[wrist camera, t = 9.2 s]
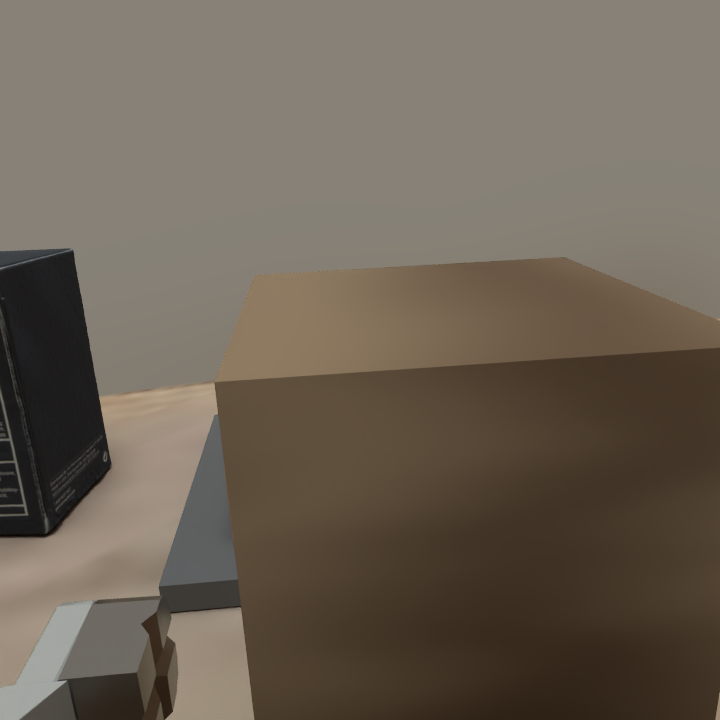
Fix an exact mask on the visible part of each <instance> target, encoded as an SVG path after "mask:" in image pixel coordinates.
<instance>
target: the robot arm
mask: <svg viewBox="0 0 720 720" xmlns="http://www.w3.org/2000/svg"><path fill="white" fill-rule="evenodd" d="M170 622H171V614H170V609H169V603H168V600H167V599H166V597H165V596H150V597H135V598H120V599H104V600H97V601H94V600H92V601H80V602H68V603H63V604H61V605H60V606H58V607H57V608H56V609H55V611H54V613H53V615H52V616H51V618H50V620H49V622H48V624H47V626H46V628H45V629H44V631H43V633H42V635H41V637H40V639H39V640H38V642H37V644H36V646H35V648H34V650H33V652H32V653H31V655H30V657H29V659H28V661H27V663H26V665H25V666H24V668H23V670H22V672H21V674H20V676H19V677H18V679H17V681H16V683H15V685H13V686H4V687H2V688H1V689H0V720H165V719H166V718H167V717H168V716H169V715H170V714H171V713H172V712H173V708H174V703H175V699H176V693H177V680H178V662H177V652H176V645H175V643H174V642H173V641H172V640H171V639H170V638H169V637H168V636H167V633H168V630H169V626H170Z"/></svg>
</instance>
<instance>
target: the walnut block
mask: <svg viewBox="0 0 720 720" xmlns="http://www.w3.org/2000/svg"><path fill="white" fill-rule="evenodd" d="M215 390H216V399H217V407H218V416H219V424H220V433H221V441H222V450H223V458H224V466H225V475H226V483H227V492H228V500H229V509H230V517H231V525H232V534H233V542H234V551H235V559H236V568H237V576H238V584H239V593H240V601H241V610H242V618H243V627H244V635H245V644H246V652H247V660H248V669H249V677H250V686H251V694H252V703H253V711H254V719H255V720H715V717H716V711H717V705H718V699H719V692H720V321H718V320H716V319H714V318H711V317H709V316H706V315H704V314H701V313H699V312H697V311H694V310H692V309H689V308H687V307H684V306H682V305H679V304H677V303H675V302H672V301H670V300H667V299H665V298H662V297H660V296H657V295H655V294H652V293H650V292H648V291H645V290H643V289H640V288H638V287H636V286H633V285H631V284H628V283H625V282H623V281H621V280H618V279H616V278H614V277H611V276H609V275H606V274H604V273H601V272H599V271H596V270H594V269H592V268H589V267H587V266H584V265H582V264H579V263H577V262H574V261H572V260H570V259H567V258H565V257H560V258H543V259H525V260H509V261H490V262H473V263H456V264H439V265H423V266H422V265H421V266H404V267H386V268H371V269H370V268H369V269H352V270H334V271H317V272H299V273H282V274H265V275H255V276H254V278H253V281H252V283H251V286H250V289H249V291H248V294H247V297H246V300H245V302H244V305H243V308H242V311H241V313H240V315H239V318H238V321H237V324H236V326H235V329H234V332H233V334H232V337H231V340H230V342H229V345H228V348H227V350H226V353H225V355H224V359H223V361H222V363H221V366H220V369H219V372H218V374H217V377H216V379H215Z"/></svg>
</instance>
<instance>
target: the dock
mask: <svg viewBox="0 0 720 720" xmlns="http://www.w3.org/2000/svg"><path fill="white" fill-rule="evenodd" d="M159 591H160V596H165V597H166V599H167V600H168V603H169V609H170V612H179V611H190V610H201V609H212V608H223V607H234V606H241V601H240V593H239V584H238V576H237V568H236V559H235V551H234V542H233V534H232V525H231V517H230V509H229V500H228V492H227V483H226V475H225V466H224V458H223V450H222V441H221V433H220V424H219V416H218V415H215V416H214V419H213V422H212V425H211V428H210V431H209V434H208V437H207V440H206V443H205V446H204V450H203V453H202V456H201V459H200V462H199V465H198V468H197V471H196V474H195V477H194V480H193V483H192V486H191V489H190V492H189V495H188V498H187V501H186V505H185V508H184V511H183V514H182V517H181V520H180V523H179V526H178V529H177V532H176V535H175V538H174V541H173V544H172V547H171V550H170V553H169V557H168V560H167V563H166V566H165V569H164V572H163V575H162V578H161V581H160V584H159Z"/></svg>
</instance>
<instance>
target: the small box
mask: <svg viewBox="0 0 720 720" xmlns="http://www.w3.org/2000/svg"><path fill="white" fill-rule="evenodd" d="M110 465H111V459H110V455H109V450H108V444H107V439H106V433H105V429H104V423H103V417H102V412H101V405H100V400H99V394H98V389H97V383H96V378H95V374H94V368H93V361H92V355H91V351H90V345H89V338H88V333H87V326H86V322H85V317H84V309H83V304H82V299H81V294H80V288H79V283H78V277H77V272H76V266H75V259H74V252H73V249H48V250H25V251H4V252H3V251H1V252H0V535H8V534H9V535H30V534H36V535H37V534H46V533H48V532H49V531H51V530H52V529H53V528H54V527H55V526H56V525H57V524H58V523H59V521H60V520H61V519H62V517H64V515H65V514H66V513H67V512H68V511H69V510H70V509H71V508H72V507H73V505H74V504H75V503H76V502H77V501H78V500H79V499H80V498H81V497H82V496H83V495H84V494H85V493H86V492H87V491H88V490H89V489H90V488H91V486H92V485H93V484H94V483H95V482H97V481H98V480H99V479H100V477H101V476H102V475H103V474H104V473H105V472H106V470H107V469H108V468H109V467H110Z"/></svg>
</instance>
